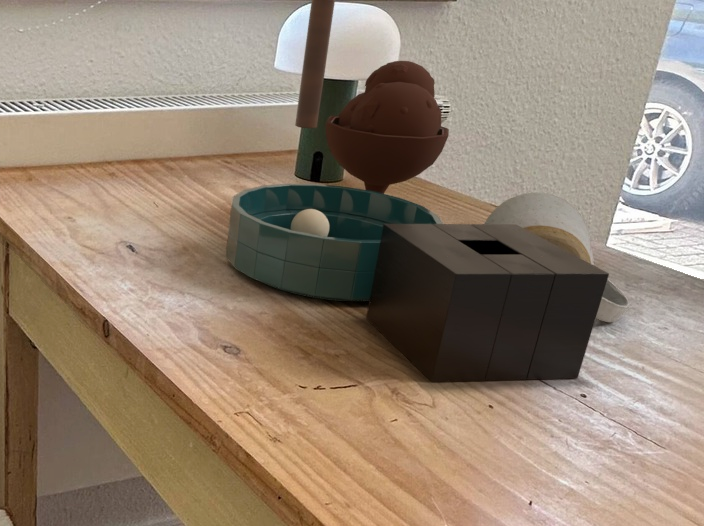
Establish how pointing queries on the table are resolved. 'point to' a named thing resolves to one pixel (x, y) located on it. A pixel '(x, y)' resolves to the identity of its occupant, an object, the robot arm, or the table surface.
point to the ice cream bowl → (389, 127)
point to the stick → (314, 63)
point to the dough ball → (311, 222)
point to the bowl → (315, 237)
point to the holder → (484, 301)
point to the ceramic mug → (559, 236)
